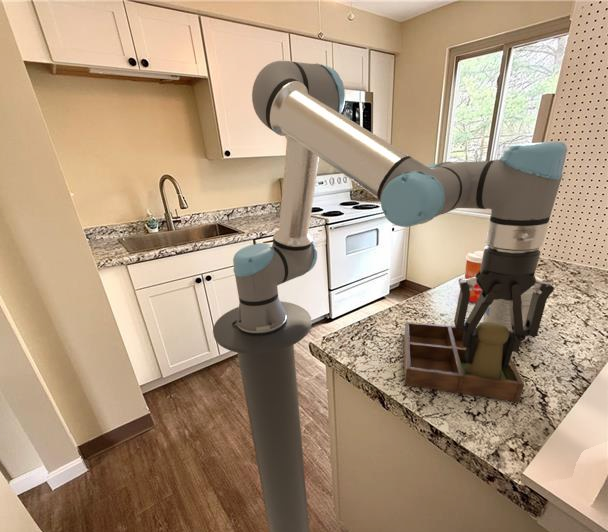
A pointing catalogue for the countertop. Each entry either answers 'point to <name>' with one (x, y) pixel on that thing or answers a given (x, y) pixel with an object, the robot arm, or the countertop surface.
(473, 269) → the paper cup
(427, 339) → the grid
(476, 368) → the cork
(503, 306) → the supplement tub
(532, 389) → the countertop surface
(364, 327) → the countertop surface
